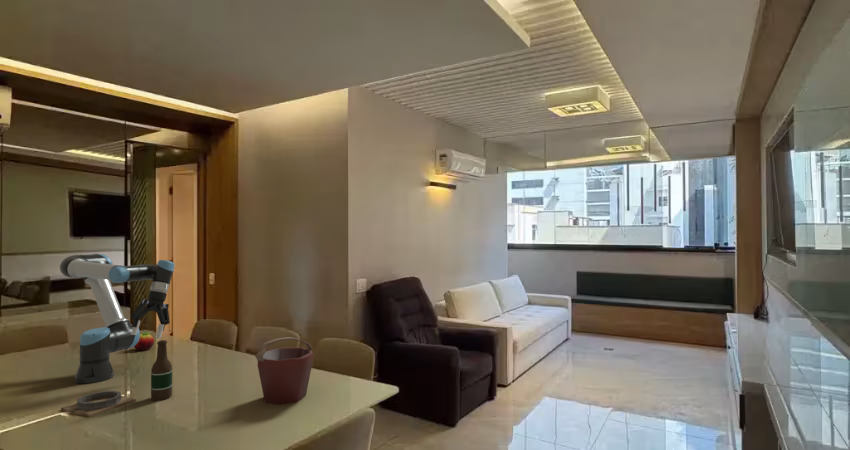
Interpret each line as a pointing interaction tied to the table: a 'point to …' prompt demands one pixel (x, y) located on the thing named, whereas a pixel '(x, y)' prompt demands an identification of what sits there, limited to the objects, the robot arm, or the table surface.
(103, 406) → the collar stand
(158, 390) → the beer bottle
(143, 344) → the fruit
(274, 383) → the bucket
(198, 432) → the table surface
